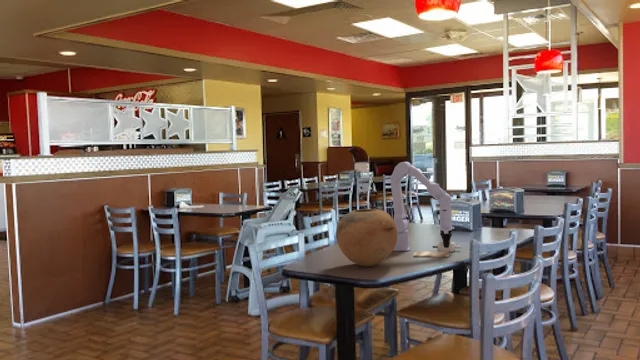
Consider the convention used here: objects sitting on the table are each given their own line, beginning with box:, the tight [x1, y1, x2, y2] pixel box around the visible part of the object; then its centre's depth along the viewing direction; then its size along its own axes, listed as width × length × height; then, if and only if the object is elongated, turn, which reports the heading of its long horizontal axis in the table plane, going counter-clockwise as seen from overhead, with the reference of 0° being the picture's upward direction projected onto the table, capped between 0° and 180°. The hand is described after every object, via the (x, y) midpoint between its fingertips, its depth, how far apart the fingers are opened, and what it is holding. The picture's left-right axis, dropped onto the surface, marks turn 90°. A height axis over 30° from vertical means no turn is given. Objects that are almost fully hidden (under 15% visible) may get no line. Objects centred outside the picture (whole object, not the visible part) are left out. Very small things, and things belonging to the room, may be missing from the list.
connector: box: [432, 241, 461, 253], centre depth 274 cm, size 13×4×4 cm, turn 78°
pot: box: [335, 208, 397, 268], centre depth 245 cm, size 31×27×25 cm
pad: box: [413, 251, 450, 258], centre depth 265 cm, size 16×10×1 cm, turn 78°
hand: (446, 246), depth 274 cm, fingers open, 7 cm apart
